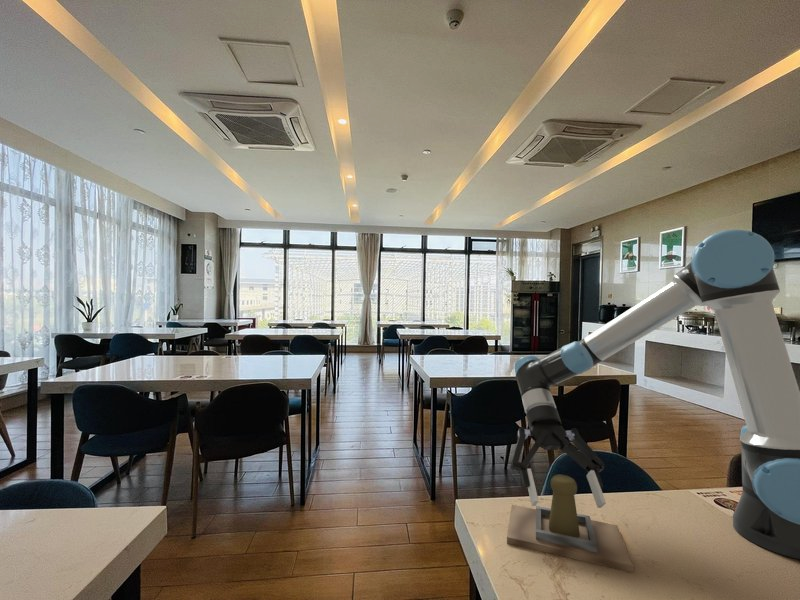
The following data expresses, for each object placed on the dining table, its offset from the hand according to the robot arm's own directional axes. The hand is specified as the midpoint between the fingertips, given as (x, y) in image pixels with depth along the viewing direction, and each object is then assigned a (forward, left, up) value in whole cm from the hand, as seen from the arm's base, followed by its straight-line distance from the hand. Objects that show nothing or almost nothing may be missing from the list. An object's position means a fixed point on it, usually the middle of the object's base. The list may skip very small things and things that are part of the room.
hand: (568, 504), depth 74 cm
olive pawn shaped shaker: (+1, -2, -7) cm, 7 cm away
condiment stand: (+1, -2, -8) cm, 8 cm away
